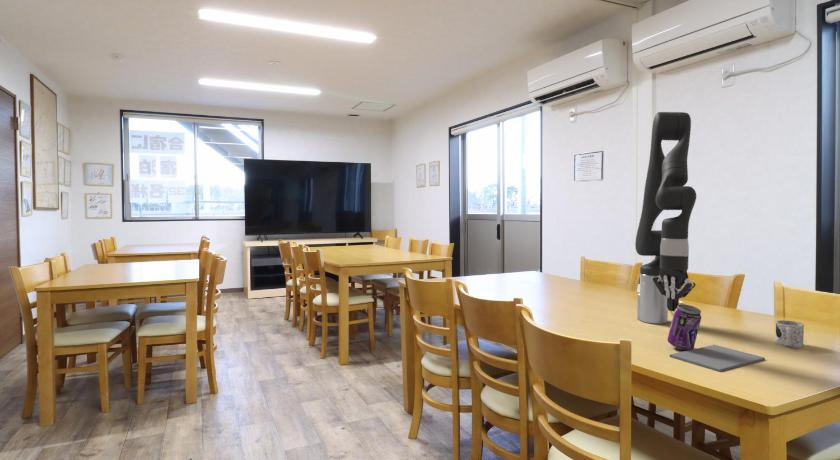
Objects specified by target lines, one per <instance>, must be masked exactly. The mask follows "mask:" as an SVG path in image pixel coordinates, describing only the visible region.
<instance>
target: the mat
mask: <svg viewBox="0 0 840 460" xmlns="http://www.w3.org/2000/svg"><path fill="white" fill-rule="evenodd" d="M669 357H670V358H673V359H675V360H680V361H683V362H685V363H688V364H693V365H696V366H699V367H702V368H705V367H706V368H705V369H709V370H713V371H716V372H719V373H720V372H723V371H724V372H725V371H727V370H732V369H735V368H738V367H743V366H746V365H749V364H753V363H758V362H761V361H765V360H766V359H765V357H764V356H760V355H757V354H754V353H753V354H752V353H748V352H745V351H740V350H737V349H733V348H729V347H725V346H721V345H718V344H711V345H706V346H702V347H698V348H693V349H688V350H684V351H680V352H676V353H670V354H669Z"/></svg>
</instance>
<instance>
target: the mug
mask: <svg viewBox="0 0 840 460" xmlns="http://www.w3.org/2000/svg"><path fill="white" fill-rule="evenodd" d="M804 325H805V324H804V323H802V322H799V321H794V320H784V319H781V320H780V319H778V320H776V321H775V344H776V345H778V346H780V347H781V346H782V347H785V348H794V349H795V348H796V349H801V348H804V333H805V331H804V330H805V329H804V327H805V326H804Z"/></svg>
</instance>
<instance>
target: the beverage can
mask: <svg viewBox="0 0 840 460" xmlns="http://www.w3.org/2000/svg"><path fill="white" fill-rule="evenodd" d="M701 313H702V310H701V309H699V308H697V307H695V306H693V305H691V304H690V305H689V304H685V303H684V304H679V305H677V308H676V309H675V310H674V311H673V315H672V318H671V319H672V320H671V322H670V327H669V331H668V335H667V343H669V344H670V345H671V346H673V347H675V348H676V349H679V350H684V351H688V350H692V349H695V348H694V347H695V344H696V341H697V337H698V332H699V329H700V326H701V325H700V324H701V320H702V315H701Z"/></svg>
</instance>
